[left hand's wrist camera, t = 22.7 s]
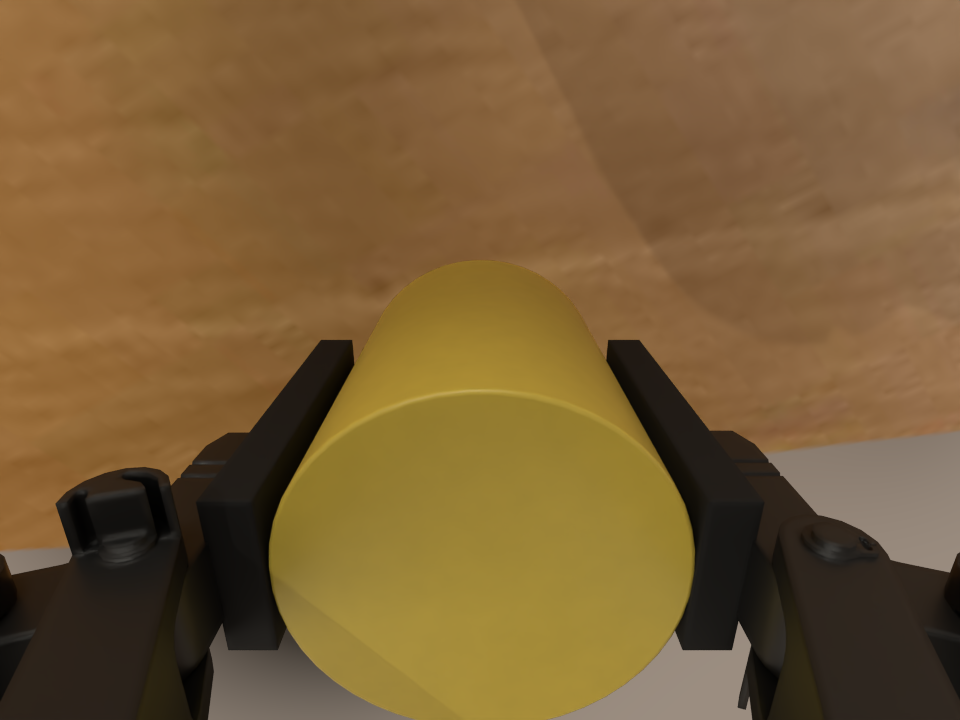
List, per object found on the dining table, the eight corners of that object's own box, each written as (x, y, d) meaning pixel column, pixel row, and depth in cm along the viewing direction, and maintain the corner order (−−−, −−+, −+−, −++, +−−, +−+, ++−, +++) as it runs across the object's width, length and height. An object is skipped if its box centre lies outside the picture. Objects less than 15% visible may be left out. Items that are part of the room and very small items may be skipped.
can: (469, 502, 17) (460, 780, 10) (321, 358, 16) (176, 563, 8) (637, 382, 16) (777, 603, 8) (496, 208, 14) (512, 290, 7)
